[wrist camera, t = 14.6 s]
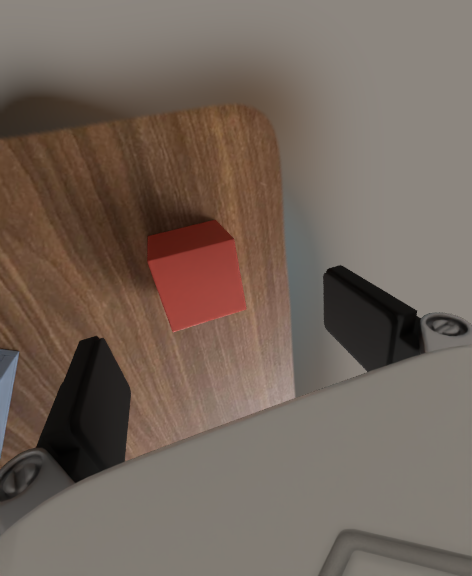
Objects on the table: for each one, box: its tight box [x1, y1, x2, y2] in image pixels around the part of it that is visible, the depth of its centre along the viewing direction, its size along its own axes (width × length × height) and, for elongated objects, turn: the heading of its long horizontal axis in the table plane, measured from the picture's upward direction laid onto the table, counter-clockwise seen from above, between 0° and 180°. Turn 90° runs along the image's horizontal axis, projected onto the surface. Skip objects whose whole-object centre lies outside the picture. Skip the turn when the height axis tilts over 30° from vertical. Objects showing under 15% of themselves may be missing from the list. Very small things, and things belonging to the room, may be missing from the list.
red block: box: [147, 220, 246, 332], centre depth 16 cm, size 4×4×4 cm
